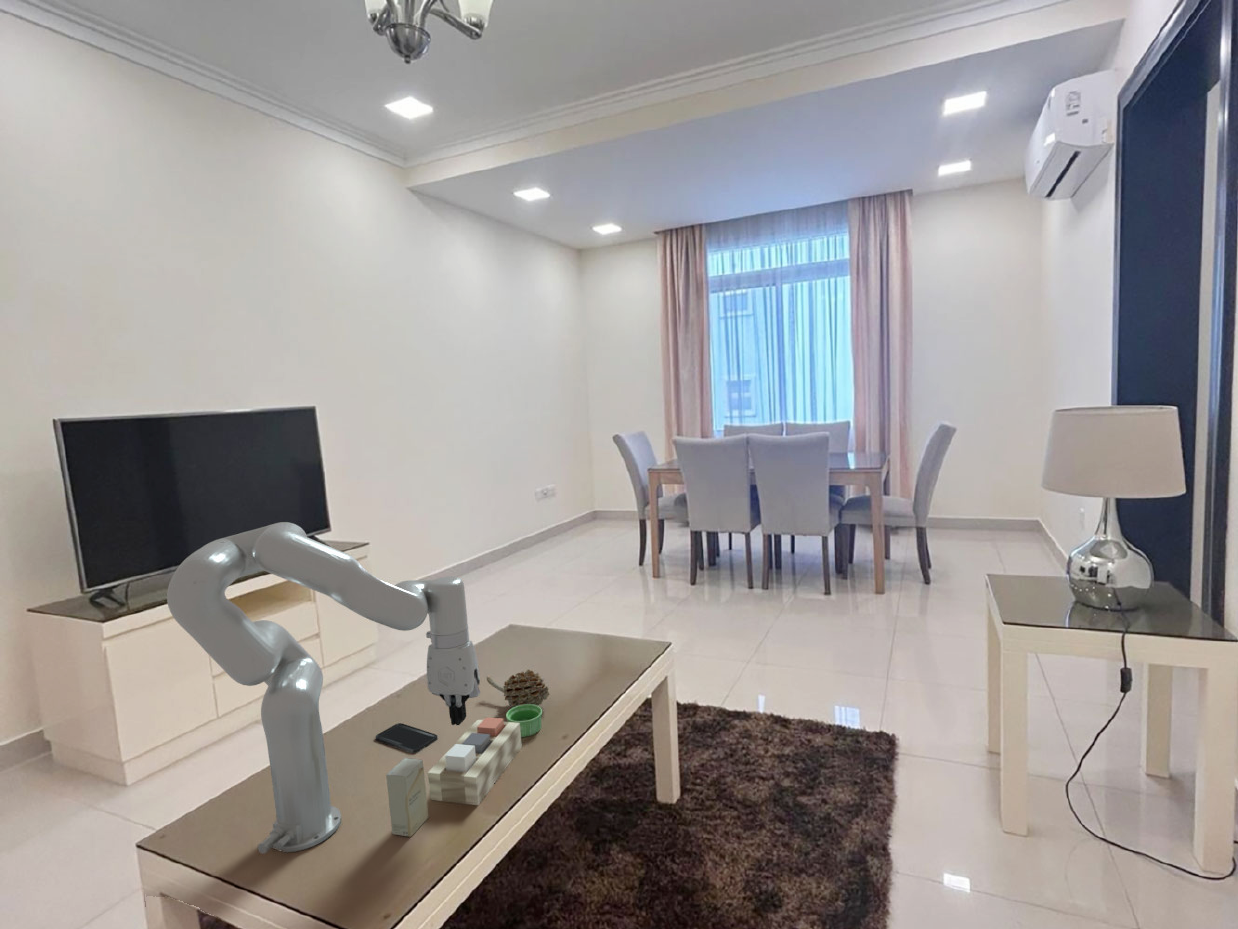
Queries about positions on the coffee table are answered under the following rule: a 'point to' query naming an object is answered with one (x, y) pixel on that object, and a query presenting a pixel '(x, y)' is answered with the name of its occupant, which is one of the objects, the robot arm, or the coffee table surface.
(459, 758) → the white key
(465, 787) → the wooden compartment tray
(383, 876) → the coffee table surface
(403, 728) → the phone
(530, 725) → the ramekin
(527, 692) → the pine cone
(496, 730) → the brick key
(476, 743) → the grey rectangular block
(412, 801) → the skincare box
